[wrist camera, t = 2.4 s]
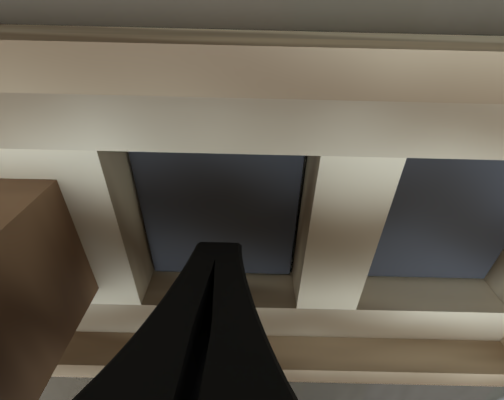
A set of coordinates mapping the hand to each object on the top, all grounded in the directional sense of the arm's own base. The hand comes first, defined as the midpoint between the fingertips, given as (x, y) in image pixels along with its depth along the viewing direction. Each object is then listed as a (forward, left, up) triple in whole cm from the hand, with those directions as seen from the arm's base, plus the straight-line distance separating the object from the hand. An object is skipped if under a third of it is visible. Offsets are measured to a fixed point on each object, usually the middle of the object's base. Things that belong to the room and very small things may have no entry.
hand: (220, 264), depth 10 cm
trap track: (0, +3, -3) cm, 4 cm away
